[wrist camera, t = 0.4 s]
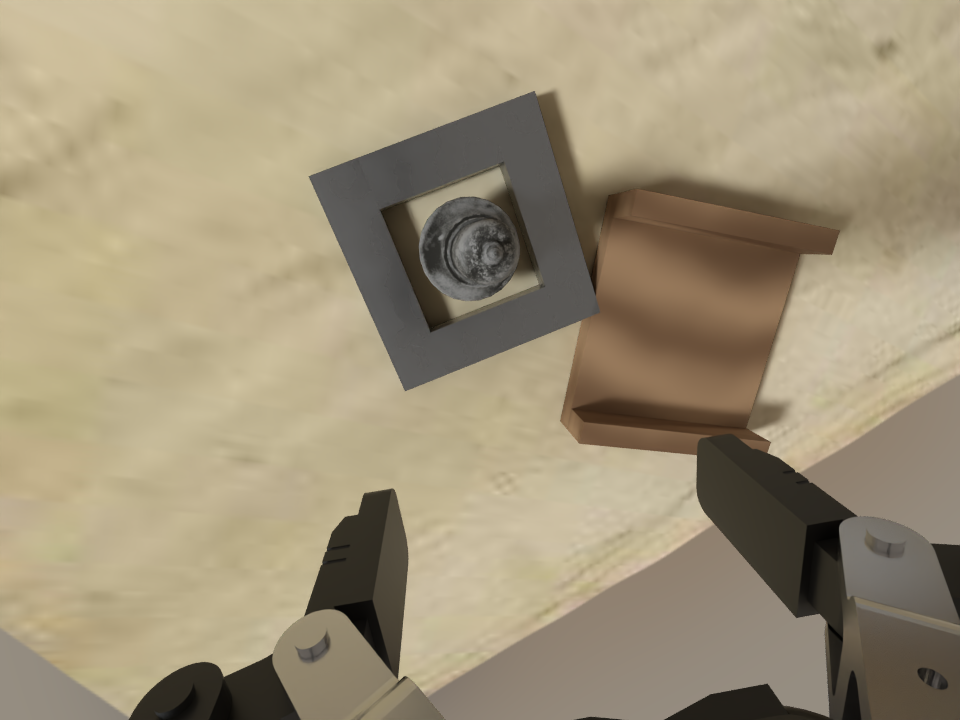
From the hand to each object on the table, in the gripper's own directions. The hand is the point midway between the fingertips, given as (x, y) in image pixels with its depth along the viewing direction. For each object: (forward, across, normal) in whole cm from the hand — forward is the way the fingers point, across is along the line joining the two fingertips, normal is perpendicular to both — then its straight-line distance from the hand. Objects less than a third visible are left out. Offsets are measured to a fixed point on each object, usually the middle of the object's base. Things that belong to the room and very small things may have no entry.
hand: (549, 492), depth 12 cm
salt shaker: (+21, +1, -5) cm, 21 cm away
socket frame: (+20, +1, -5) cm, 21 cm away
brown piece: (+21, -14, +3) cm, 25 cm away
